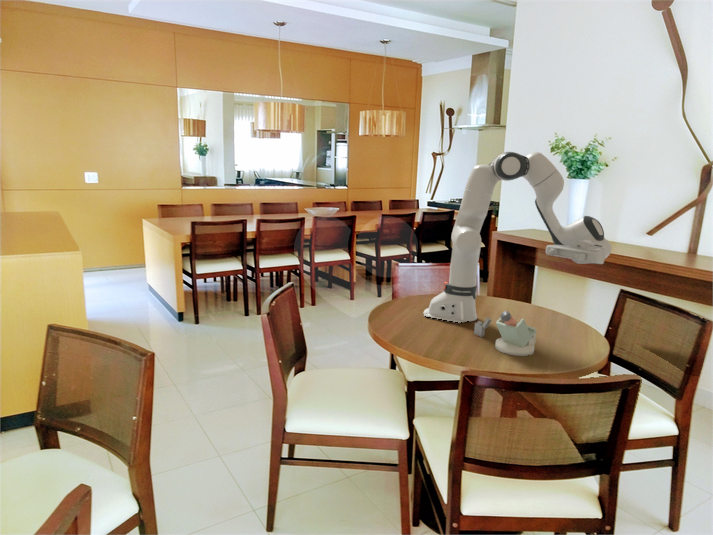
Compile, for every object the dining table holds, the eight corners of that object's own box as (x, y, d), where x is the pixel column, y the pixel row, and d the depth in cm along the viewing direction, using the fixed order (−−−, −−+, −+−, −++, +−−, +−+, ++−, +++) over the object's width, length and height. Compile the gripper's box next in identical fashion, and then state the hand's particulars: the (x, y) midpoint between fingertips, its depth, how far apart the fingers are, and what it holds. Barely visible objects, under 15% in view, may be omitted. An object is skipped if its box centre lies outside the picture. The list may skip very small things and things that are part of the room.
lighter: (473, 333, 184) (475, 313, 182) (477, 333, 184) (478, 313, 183) (486, 339, 177) (488, 318, 176) (490, 339, 178) (492, 318, 177)
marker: (515, 338, 168) (501, 320, 161) (513, 330, 170) (499, 312, 164) (524, 336, 167) (510, 317, 160) (523, 328, 169) (509, 310, 162)
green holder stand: (518, 358, 160) (522, 322, 157) (487, 346, 170) (490, 312, 167) (541, 351, 167) (545, 316, 165) (510, 340, 178) (513, 307, 175)
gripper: (558, 240, 190) (537, 242, 182) (610, 247, 174) (590, 250, 166) (556, 255, 191) (535, 258, 183) (607, 264, 175) (587, 268, 167)
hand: (562, 254), depth 174 cm, fingers open, 8 cm apart
